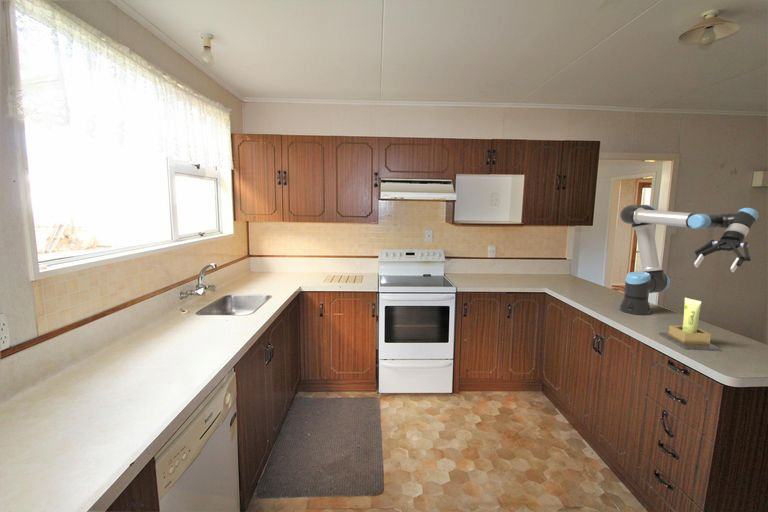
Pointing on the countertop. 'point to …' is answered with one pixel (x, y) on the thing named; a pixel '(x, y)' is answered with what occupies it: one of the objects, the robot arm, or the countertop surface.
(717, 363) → the countertop surface
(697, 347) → the collar plate
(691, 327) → the tube
